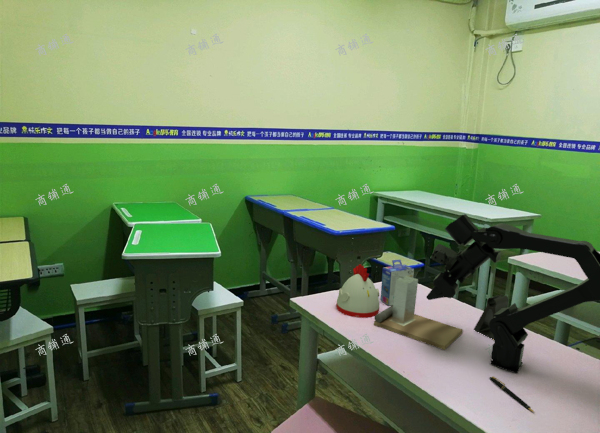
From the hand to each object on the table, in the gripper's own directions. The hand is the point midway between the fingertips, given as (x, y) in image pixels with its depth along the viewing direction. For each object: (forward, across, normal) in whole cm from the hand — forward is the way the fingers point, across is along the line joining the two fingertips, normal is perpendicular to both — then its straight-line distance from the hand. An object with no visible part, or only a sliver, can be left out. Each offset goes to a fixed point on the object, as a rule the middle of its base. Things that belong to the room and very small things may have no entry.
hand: (432, 291), depth 130 cm
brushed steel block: (+15, -1, +1) cm, 15 cm away
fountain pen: (-6, +20, +26) cm, 34 cm away
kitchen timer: (+26, -3, -10) cm, 28 cm away
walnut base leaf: (+13, 0, +6) cm, 14 cm away
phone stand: (+2, -11, +22) cm, 25 cm away
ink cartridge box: (+23, -17, -3) cm, 29 cm away
